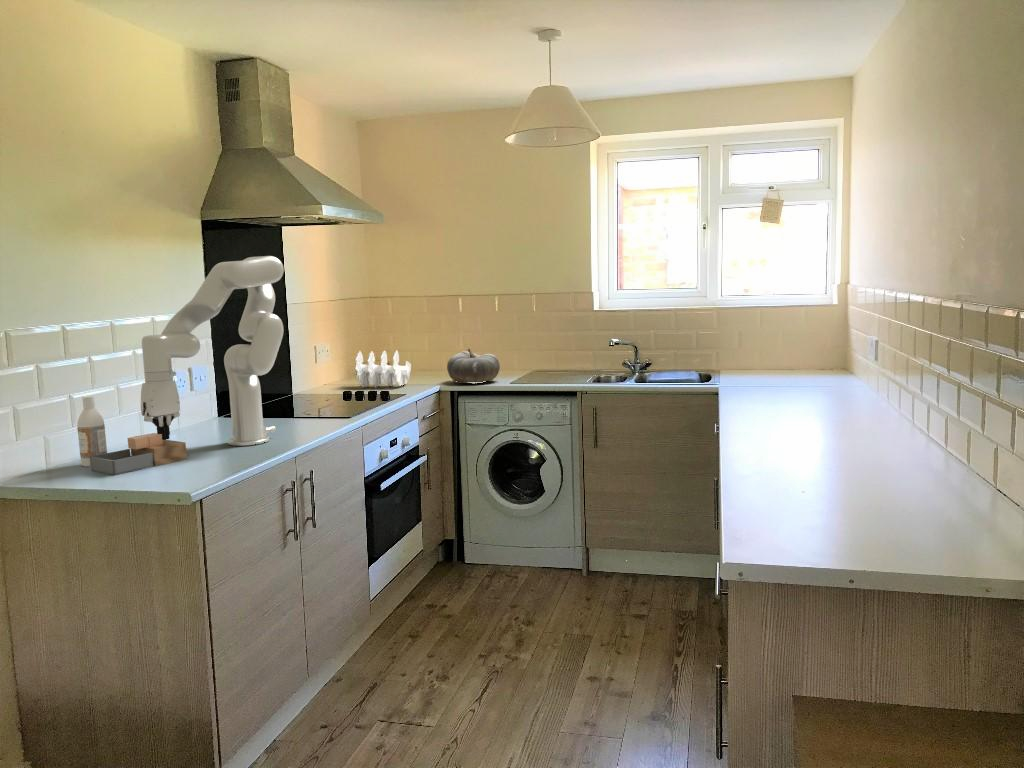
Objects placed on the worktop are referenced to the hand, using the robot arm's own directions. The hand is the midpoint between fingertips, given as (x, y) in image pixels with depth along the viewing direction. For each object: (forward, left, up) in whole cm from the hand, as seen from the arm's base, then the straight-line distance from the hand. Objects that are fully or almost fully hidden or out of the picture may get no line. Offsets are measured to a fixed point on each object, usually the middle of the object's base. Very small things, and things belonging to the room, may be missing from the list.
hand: (163, 438), depth 236 cm
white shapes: (-146, -51, -6) cm, 155 cm away
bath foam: (+14, -13, -6) cm, 20 cm away
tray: (+13, 0, -6) cm, 15 cm away
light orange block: (+8, 0, -1) cm, 8 cm away
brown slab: (+2, 0, -6) cm, 6 cm away
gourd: (-176, -19, -6) cm, 177 cm away
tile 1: (+4, 0, -1) cm, 4 cm away
